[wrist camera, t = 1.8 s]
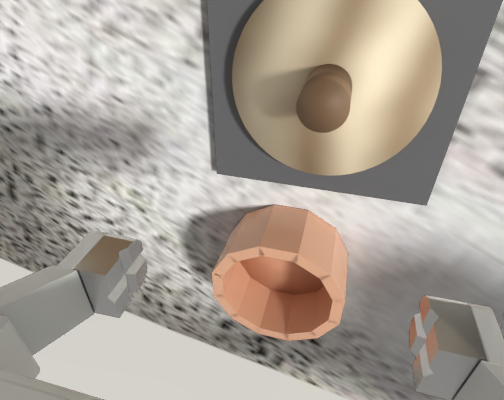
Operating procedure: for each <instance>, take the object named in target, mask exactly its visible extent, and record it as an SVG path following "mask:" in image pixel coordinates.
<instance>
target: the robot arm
mask: <svg viewBox="0 0 504 400" xmlns="http://www.w3.org/2000/svg"><path fill="white" fill-rule="evenodd" d="M142 250H143V246H142V242H141V241H140V240H138V239H133V238H129V237H124V236H120V235H115V234H111V233H105V232H101V231H96V230H95V231H92V232H90V233H89V234H88V235H87V236H86V237H85V238H84V239H83V240H82V241H81V242H80V243H79V244H78V245H77V246H76V247H75V248H74V249H73V250H72V251H71V252H70V253H69V254H68V255H67V256H66V257H65V258H64V259H63V260H62V261H61V262H60V263H59V264H58V265H57V266H55V265H51V266H49V267H47V268H44V269H42V270H40V271H37V272H35V273H33V274H30V275H28V276H26V277H24V278H21V279H19V280H17V281H14V282H12V283H10V284H8V285H5V286H3V287H0V400H104V399H100V398H97V397H94V396H90V395H87V394H83V393H80V392H77V391H74V390H70V389H67V388H64V387H60V386H57V385H53V384H50V383H47V382H44V381H41V380H37V379H35V378H36V376H37V375H38V374H39V372H40V368H39V366H38V364H37V362H36V361H35V359H34V358H33V356H32V355H34V354H35V353H37V352H38V351H40V350H41V349H43V348H44V347H46V346H47V345H49V344H50V343H52V342H53V341H55V340H56V339H58V338H59V337H61V336H62V335H63V334H65V333H67V332H68V331H69V330H71V329H73V328H74V327H75V326H77V325H78V324H80V323H81V322H83V321H84V320H86V319H87V318H89V317H90V316H92V315H93V314H94V313H98V314H103V315H108V316H113V317H117V318H120V316H121V315H122V313H123V312H124V310H125V309H126V308H127V306H128V305H129V303H130V302H131V293H132V292H134V291H136V290H138V289H139V288H140V287H141V285H142V283H143V282H144V279H145V276H146V273H147V263H146V259H145V258H144V257H143V256H142V255H141V254H140V253H141V252H142ZM419 308H420V312H419V313H417V314H415V315H414V317H413V319H412V322H411V326H410V332H409V343H410V350H411V352H412V353H413V354H414V356H415V357H416V359H415V361H414V363H413V365H412V369H413V376H414V384H415V391H417V392H421V393H424V394H428V395H432V396H435V397H439V398H443V399H446V400H504V338H503V336H502V333H501V330H500V328H499V325H498V322H497V320H496V317H495V314H494V312H493V310H492V309H491V308H490V307H487V306H482V305H476V304H471V303H465V302H461V301H455V300H450V299H444V298H439V297H433V296H428V295H424V296H423V297H422V299H421V301H420V303H419ZM93 312H94V313H93Z"/></svg>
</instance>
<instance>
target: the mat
mask: <svg viewBox="0 0 504 400" xmlns="http://www.w3.org/2000/svg"><path fill="white" fill-rule="evenodd" d="M263 1H264V0H207V10H208V27H209V45H210V62H211V80H212V97H213V114H214V132H215V149H216V167H217V174H222V175H229V176H235V177H242V178H248V179H255V180H262V181H268V182H275V183H281V184H288V185H295V186H301V187H308V188H314V189H321V190H327V191H334V192H341V193H347V194H354V195H360V196H367V197H374V198H380V199H387V200H393V201H400V202H406V203H413V204H420V205H427V203H428V200H429V197H430V195H431V192H432V189H433V187H434V184H435V181H436V179H437V176H438V173H439V170H440V168H441V165H442V162H443V160H444V157H445V154H446V152H447V149H448V146H449V144H450V141H451V138H452V135H453V133H454V130H455V127H456V125H457V122H458V119H459V117H460V114H461V111H462V109H463V106H464V103H465V100H466V98H467V95H468V92H469V90H470V87H471V84H472V82H473V79H474V76H475V74H476V71H477V68H478V66H479V63H480V60H481V57H482V55H483V52H484V49H485V47H486V44H487V41H488V39H489V36H490V33H491V31H492V28H493V25H494V22H495V20H496V17H497V14H498V12H499V9H500V6H501V4H502V1H503V0H418V1H419V2H420V3H421V5H422V6H423V7H424V9H425V10H426V11H427V13H428V15H429V17H430V19H431V21H432V22H433V24H434V27H435V30H436V33H437V35H438V38H439V43H440V48H441V55H442V74H441V84H440V88H439V92H438V96H437V99H436V102H435V104H434V107H433V109H432V112H431V113H430V115H429V117H428V119H427V121H426V122H425V124H424V125H423V127H422V128H421V130H420V131H419V132H418V134H417V135H416V136H415V137H414V138H413V139H412V140H411V141H410V143H409V144H408V145H407V146H405V147H404V148H403V149H402V150H401V151H399V152H398V153H397V154H396V155H394V156H393V157H391V158H390V159H388V160H386V161H385V162H383V163H381V164H379V165H377V166H375V167H372V168H369V169H367V170H364V171H360V172H356V173H352V174H346V175H333V176H327V175H316V174H311V173H306V172H303V171H299V170H296V169H294V168H291V167H289V166H287V165H285V164H283V163H281V162H280V161H278V160H276V159H275V158H273V157H272V156H271V155H269V154H268V153H267V152H266V151H265V150H263V149H262V148H261V147H260V146H259V145H258V144H257V142H256V141H255V140H254V139H253V138H252V136H251V135H250V133H249V132H248V130H247V129H246V127H245V126H244V124H243V121H242V119H241V117H240V115H239V112H238V109H237V107H236V103H235V99H234V94H233V85H232V66H233V60H234V54H235V50H236V47H237V43H238V40H239V38H240V36H241V33H242V31H243V29H244V27H245V25H246V23H247V22H248V20H249V18H250V17H251V15H252V14H253V13H254V11H255V10H256V9H257V7H258V6H259V5H260V4H261V3H262V2H263Z"/></svg>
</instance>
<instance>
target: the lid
mask: <svg viewBox="0 0 504 400" xmlns="http://www.w3.org/2000/svg"><path fill="white" fill-rule="evenodd" d="M441 74H442V55H441V48H440V43H439V38H438V35H437V33H436V30H435V27H434V24H433V22H432V21H431V19H430V17H429V15H428V13H427V11H426V10H425V9H424V7H423V6H422V5H421V3H420V2H419V1H418V0H264V1H263V2H262V3H261V4H260V5H259V6H258V7H257V9H256V10H255V11H254V13H253V14H252V15H251V17H250V18H249V20H248V22H247V23H246V25H245V27H244V29H243V31H242V33H241V36H240V38H239V40H238V43H237V47H236V50H235V54H234V60H233V66H232V85H233V94H234V99H235V103H236V107H237V109H238V112H239V115H240V117H241V119H242V121H243V124H244V126H245V127H246V129H247V130H248V132H249V133H250V135H251V136H252V138H253V139H254V140H255V141H256V142H257V144H258V145H259V146H260V147H261V148H262V149H263V150H265V151H266V152H267V153H268V154H269V155H271V156H272V157H273V158H275V159H276V160H278V161H280V162H281V163H283V164H285V165H287V166H289V167H291V168H294V169H296V170H299V171H303V172H306V173H311V174H316V175H327V176H333V175H346V174H352V173H356V172H360V171H364V170H367V169H369V168H372V167H375V166H377V165H379V164H381V163H383V162H385V161H386V160H388V159H390V158H391V157H393V156H394V155H396V154H397V153H398V152H399V151H401V150H402V149H403V148H404V147H405V146H407V145H408V144H409V143H410V141H411V140H412V139H413V138H414V137H415V136H416V135H417V134H418V132H419V131H420V130H421V128H422V127H423V125H424V124H425V122H426V121H427V119H428V117H429V115H430V113H431V112H432V109H433V107H434V104H435V102H436V99H437V96H438V92H439V88H440V84H441Z"/></svg>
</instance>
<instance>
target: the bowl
mask: <svg viewBox="0 0 504 400" xmlns="http://www.w3.org/2000/svg"><path fill="white" fill-rule="evenodd" d="M347 267H348V251H347V249H346V247H345V245H344V243H343V241H342V240H341V238H340V236H339V234H338V232H337V230H336V228H334V227H333V226H331V225H330V224H328V223H327V222H325V221H324V220H322V219H321V218H319V217H318V216H316V215H315V214H313V213H312V212H310V211H309V210H304V209H298V208H292V207H286V206H280V205H272V206H268V207H265V208H262V209H258V210H255V211H252V212H249V213H246V214H245V216H244V217H243V218H242V219H241V221H240V222H239V223H238V224H237V226H236V227H235V228H234V230H233V231H232V232H231V234H230V236H229V239H228V241H227V243H226V245H225V247H224V249H223V251H222V253H221V255H220V257H219V259H218V261H217V263H216V265H215V267H214V269H213V271H212V281H213V293H214V297H215V298H216V299H217V300H218V302H219V303H220V304H221V306H222V307H223V308H224V310H225V311H226V312H227V313H228V315H229V316H230V317H231V318H233V319H234V320H236V321H237V322H239V323H241V324H242V325H244V326H246V327H247V328H249V329H251V330H252V331H254V332H256V333H258V334H262V335H266V336H270V337H274V338H278V339H282V340H287V341H292V340H303V339H314V338H319V337H320V336H322V335H324V334H325V333H327V332H328V331H330V330H331V329H333V328H335V327H336V326H338V325H339V324H340V320H341V316H342V312H343V308H344V304H345V298H346V282H347Z"/></svg>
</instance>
